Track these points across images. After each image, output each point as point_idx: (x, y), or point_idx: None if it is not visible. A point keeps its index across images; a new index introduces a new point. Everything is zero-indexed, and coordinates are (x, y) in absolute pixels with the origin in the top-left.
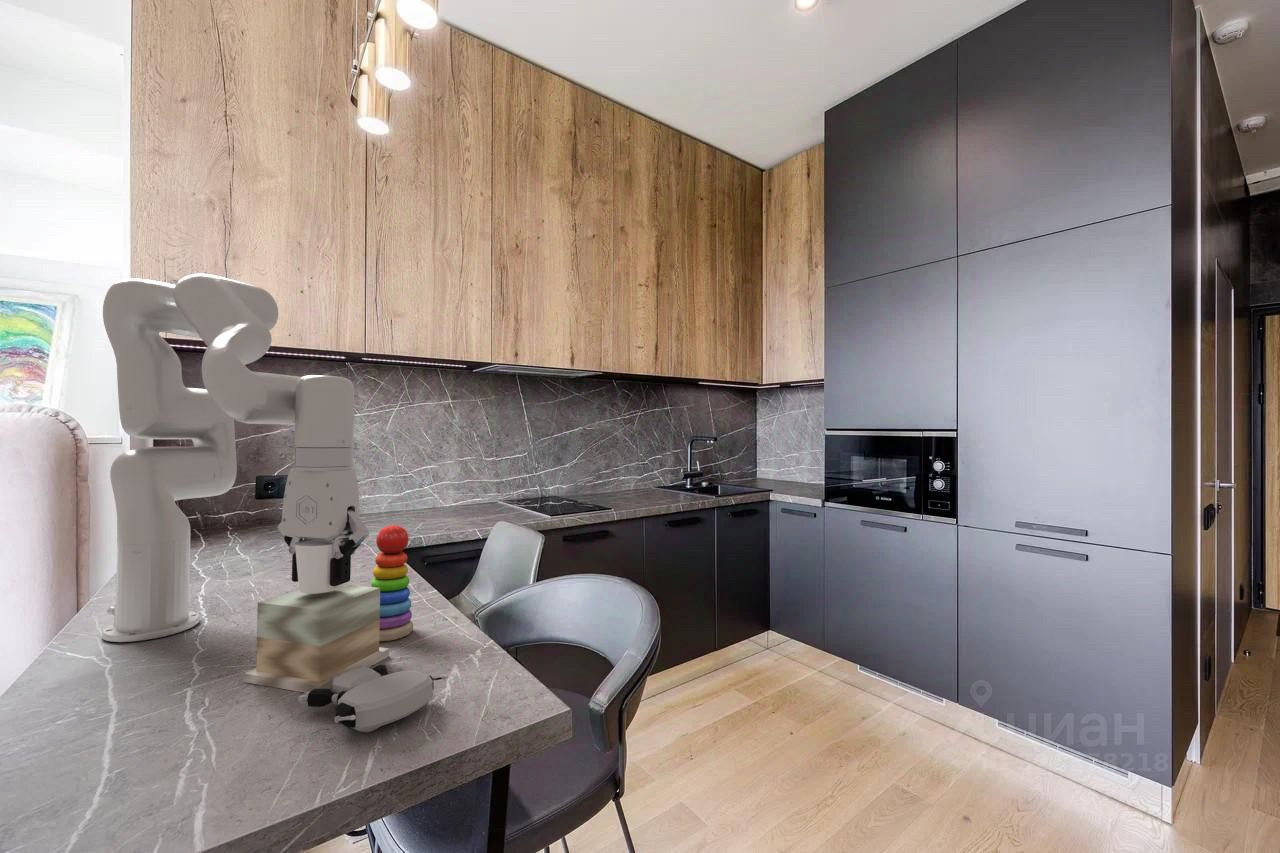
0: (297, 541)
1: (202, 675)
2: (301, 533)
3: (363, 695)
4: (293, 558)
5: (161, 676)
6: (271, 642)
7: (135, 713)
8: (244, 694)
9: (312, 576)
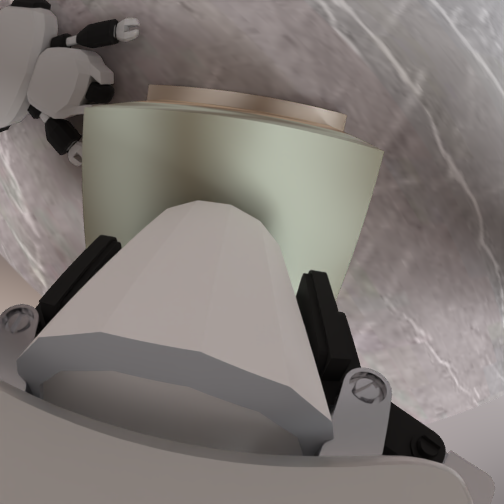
0: (333, 440)
1: (431, 142)
2: (205, 490)
3: (8, 29)
4: (339, 343)
5: (482, 141)
6: (297, 121)
7: (421, 13)
8: (300, 66)
9: (158, 229)
